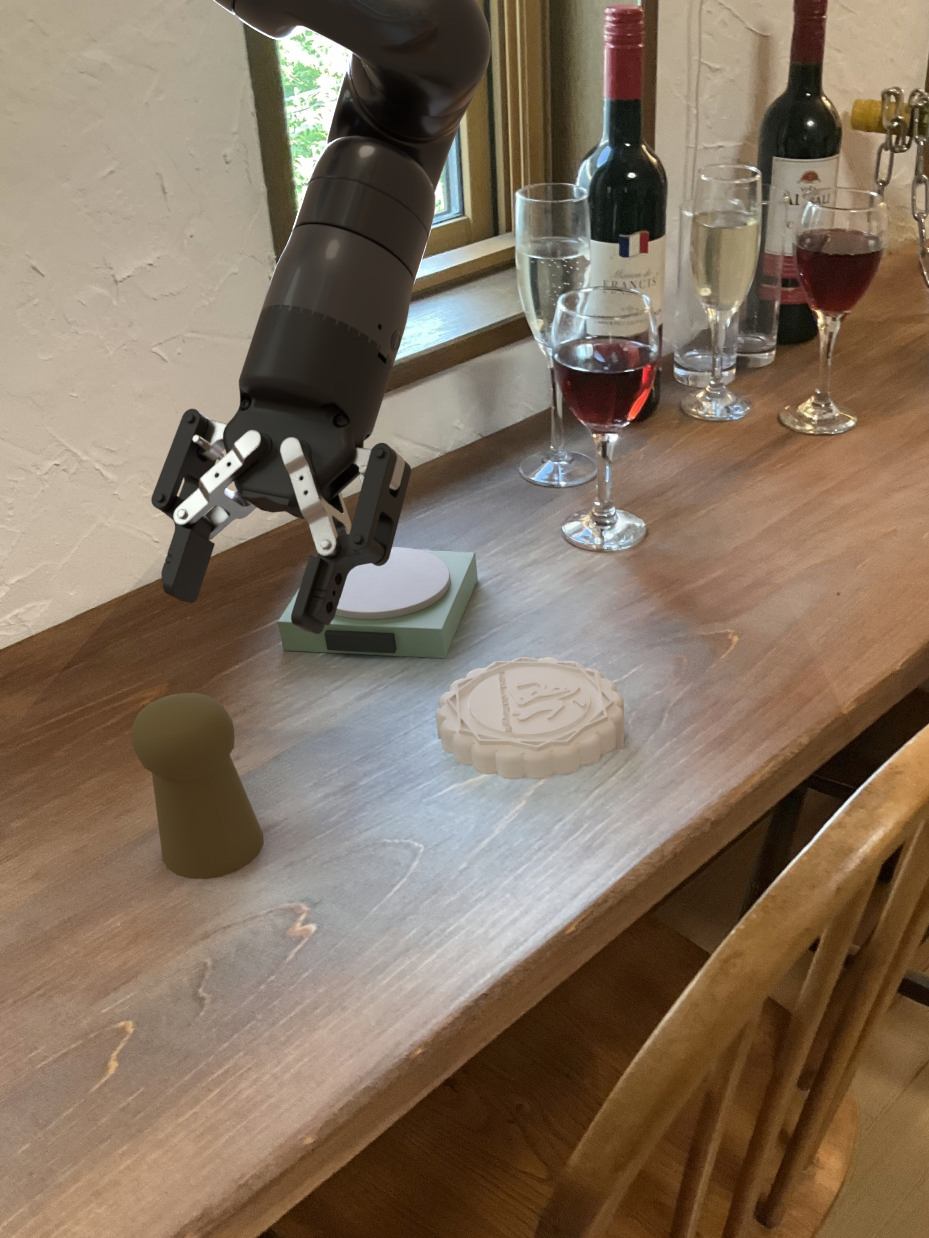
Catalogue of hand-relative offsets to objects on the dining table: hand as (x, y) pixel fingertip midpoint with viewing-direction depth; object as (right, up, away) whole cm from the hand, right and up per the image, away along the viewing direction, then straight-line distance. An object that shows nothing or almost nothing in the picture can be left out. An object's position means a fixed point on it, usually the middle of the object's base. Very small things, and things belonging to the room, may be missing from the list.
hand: (240, 613), depth 69 cm
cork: (-2, -14, +4) cm, 15 cm away
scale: (+3, +4, +27) cm, 28 cm away
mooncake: (+15, -6, +13) cm, 21 cm away
